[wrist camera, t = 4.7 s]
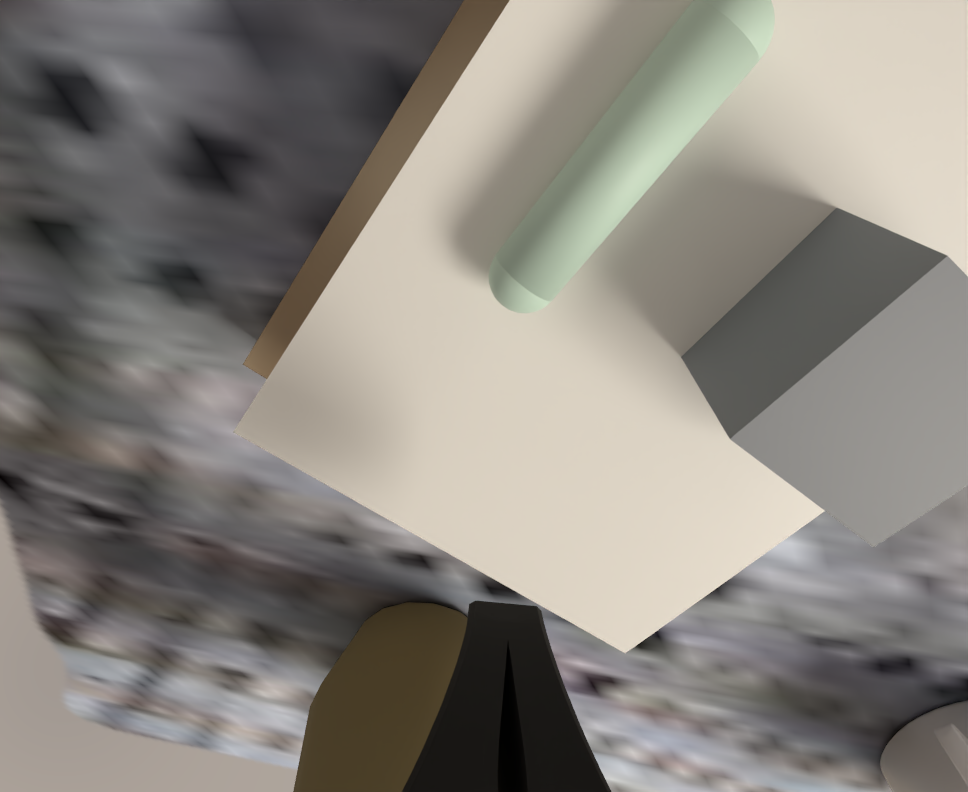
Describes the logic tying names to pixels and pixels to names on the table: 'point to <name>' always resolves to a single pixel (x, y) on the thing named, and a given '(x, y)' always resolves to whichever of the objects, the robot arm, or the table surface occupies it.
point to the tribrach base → (377, 176)
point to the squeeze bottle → (380, 700)
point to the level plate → (655, 300)
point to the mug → (930, 752)
